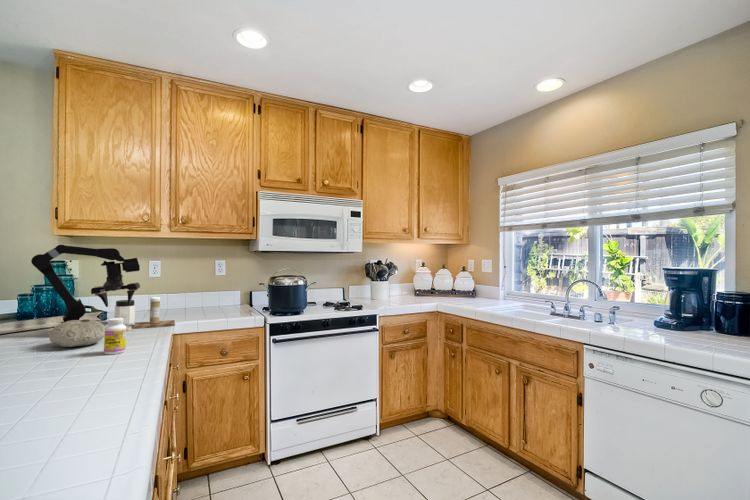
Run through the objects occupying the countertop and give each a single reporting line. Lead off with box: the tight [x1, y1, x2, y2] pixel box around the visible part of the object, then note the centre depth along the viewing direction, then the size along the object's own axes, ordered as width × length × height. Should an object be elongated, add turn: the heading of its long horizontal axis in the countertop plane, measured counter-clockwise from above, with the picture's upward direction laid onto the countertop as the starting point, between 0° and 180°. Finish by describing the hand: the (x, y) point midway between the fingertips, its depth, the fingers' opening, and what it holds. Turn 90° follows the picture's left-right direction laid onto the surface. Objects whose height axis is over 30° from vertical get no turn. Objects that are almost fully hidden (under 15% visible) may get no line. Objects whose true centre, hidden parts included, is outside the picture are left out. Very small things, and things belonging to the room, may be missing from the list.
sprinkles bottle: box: [148, 296, 161, 324], centre depth 186 cm, size 5×5×14 cm
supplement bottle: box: [103, 318, 127, 356], centre depth 135 cm, size 7×7×13 cm
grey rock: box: [48, 318, 106, 348], centre depth 145 cm, size 18×18×10 cm
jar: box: [114, 299, 136, 325], centre depth 190 cm, size 9×8×12 cm
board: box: [132, 319, 176, 330], centre depth 186 cm, size 18×11×1 cm, turn 121°
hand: (118, 305), depth 174 cm, fingers open, 9 cm apart
